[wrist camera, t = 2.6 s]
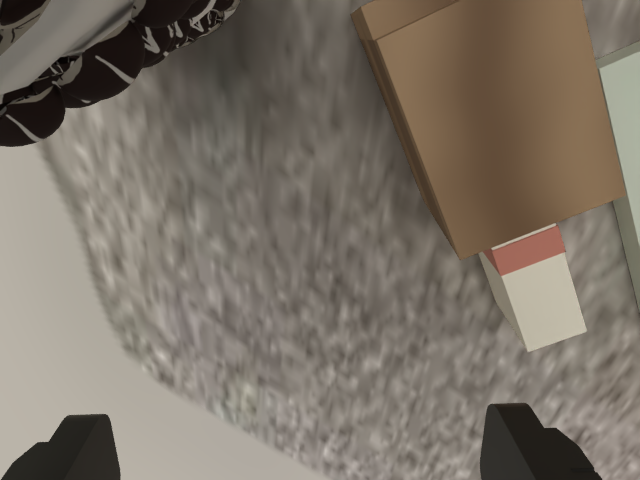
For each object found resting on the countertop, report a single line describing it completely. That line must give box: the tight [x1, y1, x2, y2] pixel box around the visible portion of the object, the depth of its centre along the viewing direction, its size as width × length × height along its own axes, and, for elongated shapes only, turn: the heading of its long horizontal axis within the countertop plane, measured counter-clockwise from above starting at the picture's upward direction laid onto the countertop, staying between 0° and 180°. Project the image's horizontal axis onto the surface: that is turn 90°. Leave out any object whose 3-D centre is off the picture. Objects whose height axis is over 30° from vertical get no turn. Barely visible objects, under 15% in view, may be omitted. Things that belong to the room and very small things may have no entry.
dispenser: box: [351, 0, 626, 260], centre depth 21 cm, size 7×10×8 cm, turn 25°
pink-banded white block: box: [478, 223, 587, 352], centre depth 25 cm, size 3×14×5 cm, turn 24°
